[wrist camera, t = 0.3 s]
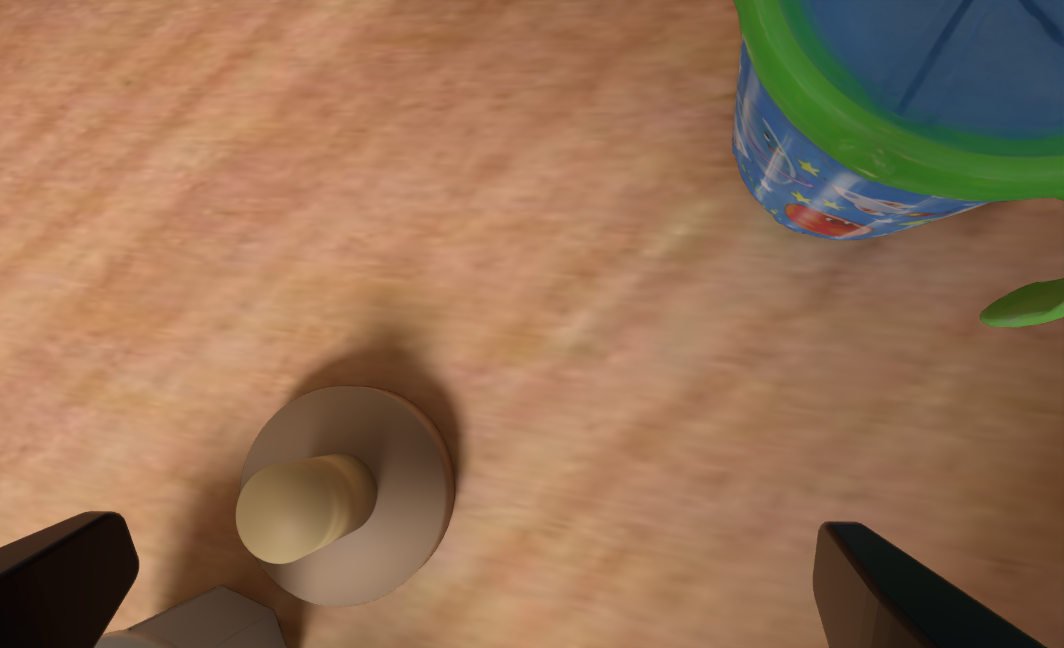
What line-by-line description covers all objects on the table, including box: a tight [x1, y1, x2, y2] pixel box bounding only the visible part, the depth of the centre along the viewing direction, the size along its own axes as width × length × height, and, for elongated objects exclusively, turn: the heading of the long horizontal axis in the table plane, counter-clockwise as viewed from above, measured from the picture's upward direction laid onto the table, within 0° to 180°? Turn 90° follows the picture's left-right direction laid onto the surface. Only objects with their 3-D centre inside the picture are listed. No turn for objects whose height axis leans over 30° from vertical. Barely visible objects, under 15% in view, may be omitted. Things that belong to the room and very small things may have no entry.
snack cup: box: [732, 0, 1064, 327], centre depth 17 cm, size 16×10×10 cm
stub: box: [236, 386, 455, 607], centre depth 20 cm, size 8×8×5 cm
